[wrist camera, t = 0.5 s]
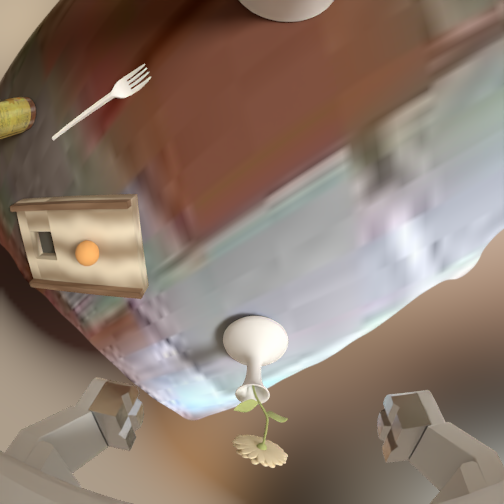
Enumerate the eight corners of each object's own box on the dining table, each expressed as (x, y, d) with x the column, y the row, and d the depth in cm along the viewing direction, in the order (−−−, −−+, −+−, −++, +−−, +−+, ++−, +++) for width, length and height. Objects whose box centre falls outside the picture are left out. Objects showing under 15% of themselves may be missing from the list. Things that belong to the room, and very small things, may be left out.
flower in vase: (211, 334, 57) (185, 454, 35) (255, 298, 53) (247, 427, 31) (262, 370, 61) (257, 485, 38) (307, 340, 57) (320, 462, 35)
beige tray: (23, 198, 47) (9, 206, 43) (137, 194, 46) (126, 202, 43) (41, 276, 54) (30, 286, 51) (148, 285, 53) (141, 298, 50)
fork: (51, 130, 43) (44, 132, 41) (148, 62, 38) (143, 60, 36) (58, 146, 44) (51, 149, 42) (157, 80, 39) (152, 80, 37)
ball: (80, 236, 47) (68, 246, 43) (101, 236, 47) (89, 247, 43) (85, 258, 49) (73, 270, 45) (105, 259, 49) (94, 271, 45)
